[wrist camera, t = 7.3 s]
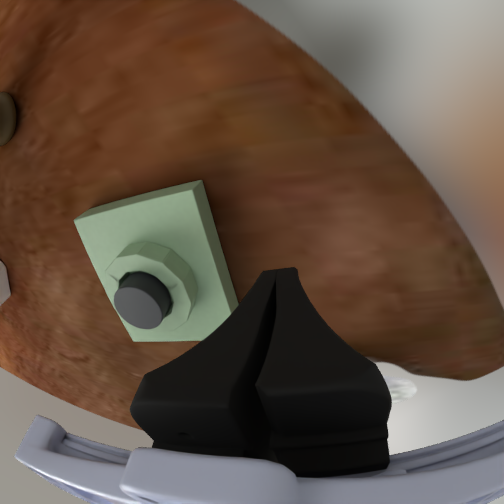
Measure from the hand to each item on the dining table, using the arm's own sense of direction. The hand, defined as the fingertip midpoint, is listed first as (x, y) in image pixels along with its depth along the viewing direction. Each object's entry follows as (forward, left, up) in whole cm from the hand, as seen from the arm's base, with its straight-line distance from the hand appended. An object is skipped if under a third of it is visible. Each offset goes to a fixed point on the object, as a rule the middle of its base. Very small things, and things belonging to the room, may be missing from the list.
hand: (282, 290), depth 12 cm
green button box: (-3, +10, -9) cm, 14 cm away
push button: (-3, +10, -5) cm, 12 cm away
